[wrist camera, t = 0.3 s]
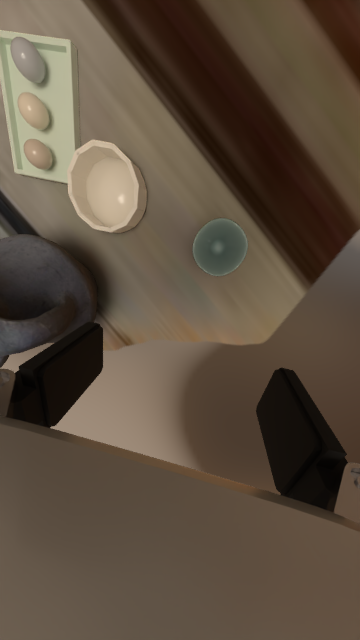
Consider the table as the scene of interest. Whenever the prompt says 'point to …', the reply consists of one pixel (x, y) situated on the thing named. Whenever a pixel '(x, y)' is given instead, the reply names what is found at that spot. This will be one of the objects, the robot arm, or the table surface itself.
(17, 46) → the pebble
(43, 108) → the pebble
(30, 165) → the tray
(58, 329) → the pitcher
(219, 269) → the cup
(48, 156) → the pebble
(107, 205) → the bowl
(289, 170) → the table surface
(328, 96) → the table surface
